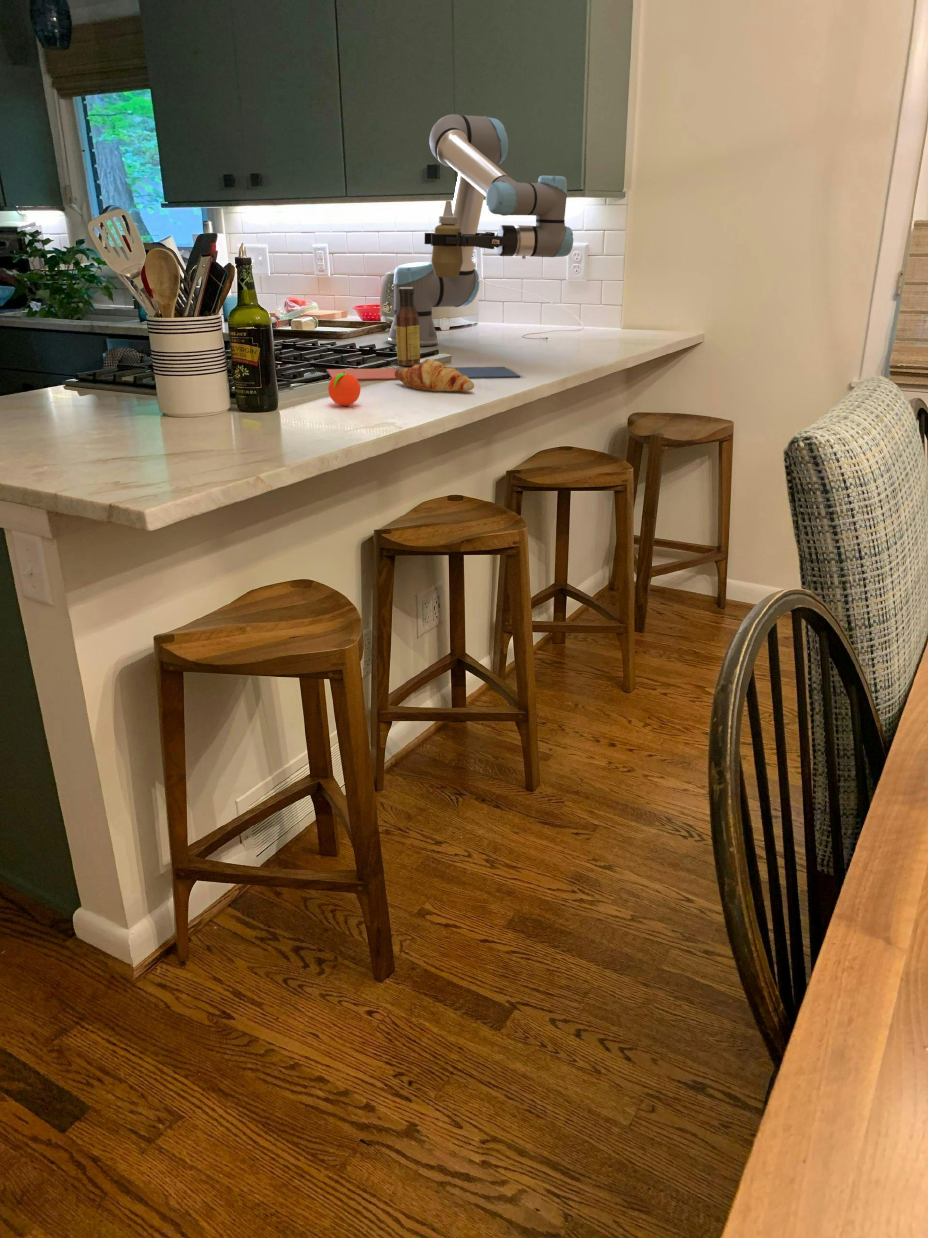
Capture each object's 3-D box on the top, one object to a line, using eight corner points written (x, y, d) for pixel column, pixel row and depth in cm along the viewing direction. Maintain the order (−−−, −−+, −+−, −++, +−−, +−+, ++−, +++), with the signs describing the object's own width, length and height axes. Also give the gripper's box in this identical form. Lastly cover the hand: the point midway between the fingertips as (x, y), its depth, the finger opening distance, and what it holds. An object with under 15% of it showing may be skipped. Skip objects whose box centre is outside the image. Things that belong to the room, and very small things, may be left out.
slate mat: (439, 369, 248) (439, 367, 248) (503, 368, 252) (503, 366, 252) (452, 378, 236) (452, 376, 235) (519, 377, 240) (519, 375, 240)
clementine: (349, 410, 197) (349, 376, 194) (320, 407, 199) (319, 373, 196) (366, 404, 204) (365, 370, 201) (337, 400, 206) (336, 368, 203)
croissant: (477, 405, 222) (485, 373, 222) (463, 391, 213) (471, 357, 213) (399, 394, 230) (407, 362, 230) (382, 380, 220) (390, 347, 220)
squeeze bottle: (426, 276, 239) (427, 200, 232) (438, 274, 246) (439, 200, 239) (455, 278, 237) (457, 201, 229) (466, 276, 244) (469, 201, 236)
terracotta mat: (326, 370, 240) (326, 369, 240) (394, 369, 245) (394, 368, 245) (333, 380, 228) (333, 378, 228) (405, 379, 233) (405, 377, 232)
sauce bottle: (421, 363, 255) (422, 286, 247) (418, 367, 249) (418, 288, 241) (397, 362, 255) (397, 285, 247) (394, 366, 250) (393, 287, 241)
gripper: (525, 258, 236) (437, 257, 230) (502, 253, 252) (419, 252, 246) (527, 226, 232) (437, 224, 226) (503, 223, 249) (419, 221, 243)
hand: (428, 238), depth 236 cm, fingers closed on squeeze bottle, 6 cm apart
